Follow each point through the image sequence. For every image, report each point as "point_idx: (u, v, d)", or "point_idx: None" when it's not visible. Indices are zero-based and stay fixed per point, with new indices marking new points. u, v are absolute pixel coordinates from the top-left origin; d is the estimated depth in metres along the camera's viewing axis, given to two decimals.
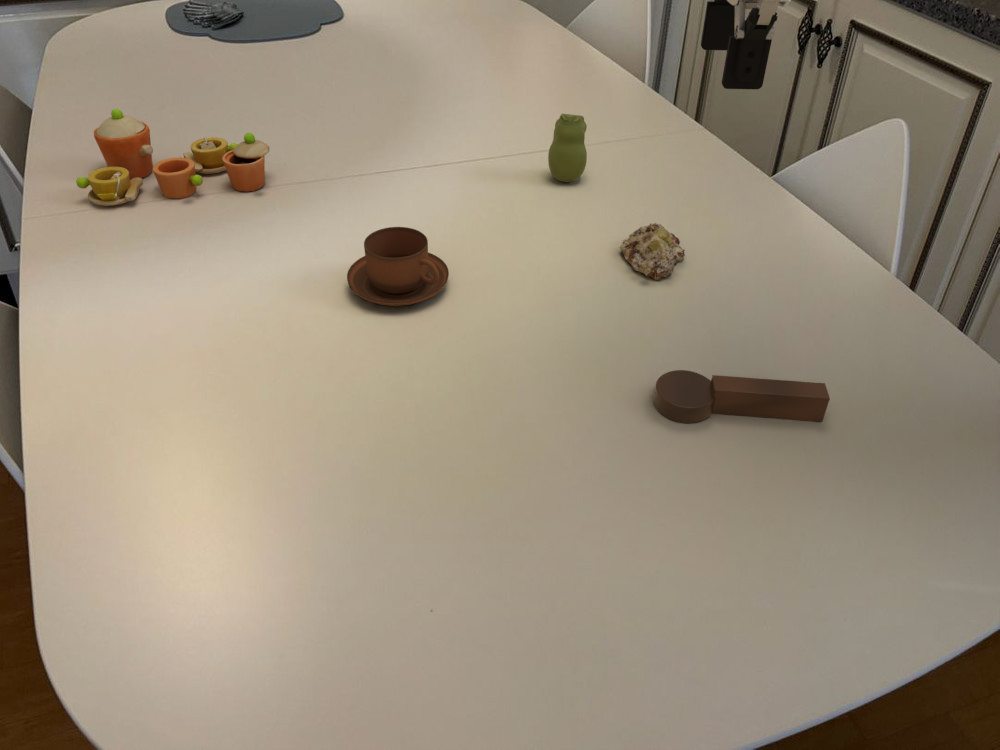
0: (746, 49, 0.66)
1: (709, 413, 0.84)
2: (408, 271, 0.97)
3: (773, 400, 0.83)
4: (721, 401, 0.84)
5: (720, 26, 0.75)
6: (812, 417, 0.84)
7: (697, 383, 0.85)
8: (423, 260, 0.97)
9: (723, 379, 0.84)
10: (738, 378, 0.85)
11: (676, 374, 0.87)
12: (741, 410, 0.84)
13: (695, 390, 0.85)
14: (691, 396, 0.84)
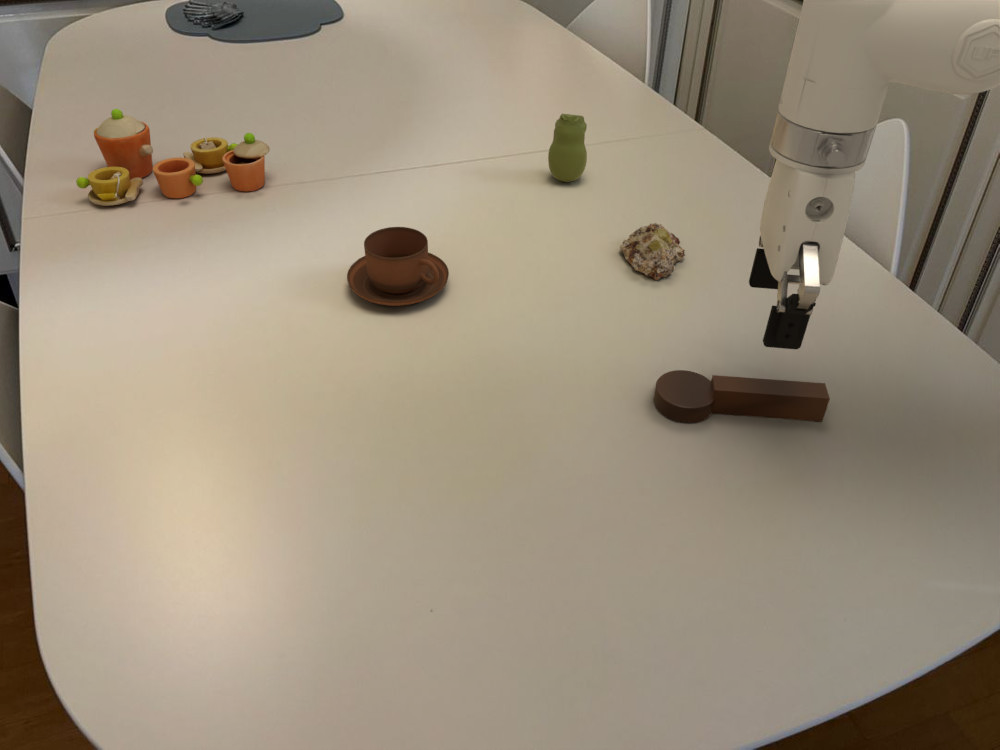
0: (786, 320, 0.72)
1: (709, 413, 0.84)
2: (408, 271, 0.97)
3: (773, 400, 0.83)
4: (721, 401, 0.84)
5: (767, 270, 0.81)
6: (812, 417, 0.84)
7: (697, 383, 0.85)
8: (423, 260, 0.97)
9: (723, 379, 0.84)
10: (738, 378, 0.85)
11: (676, 374, 0.87)
12: (741, 410, 0.84)
13: (695, 390, 0.85)
14: (691, 396, 0.84)
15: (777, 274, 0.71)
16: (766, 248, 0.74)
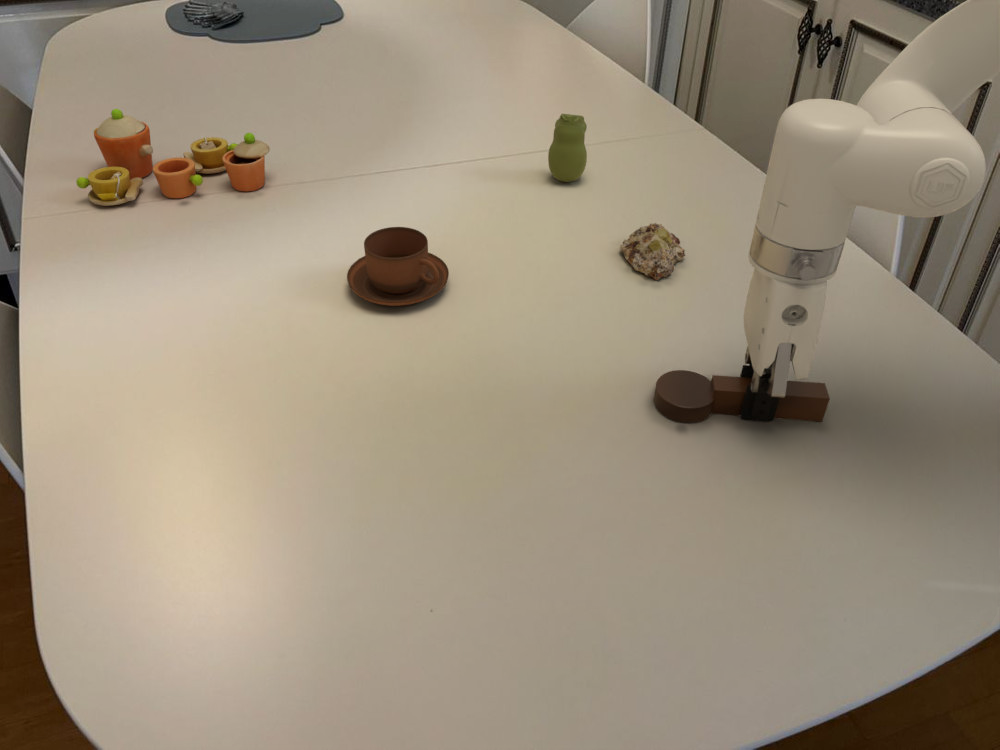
0: (759, 399, 0.81)
1: (709, 413, 0.84)
2: (408, 271, 0.97)
3: None
4: (721, 401, 0.84)
5: None
6: (812, 417, 0.84)
7: (697, 383, 0.85)
8: (423, 260, 0.97)
9: (723, 379, 0.84)
10: (738, 378, 0.85)
11: (676, 374, 0.87)
12: None
13: (695, 390, 0.85)
14: (691, 396, 0.84)
15: (758, 370, 0.77)
16: (748, 342, 0.80)
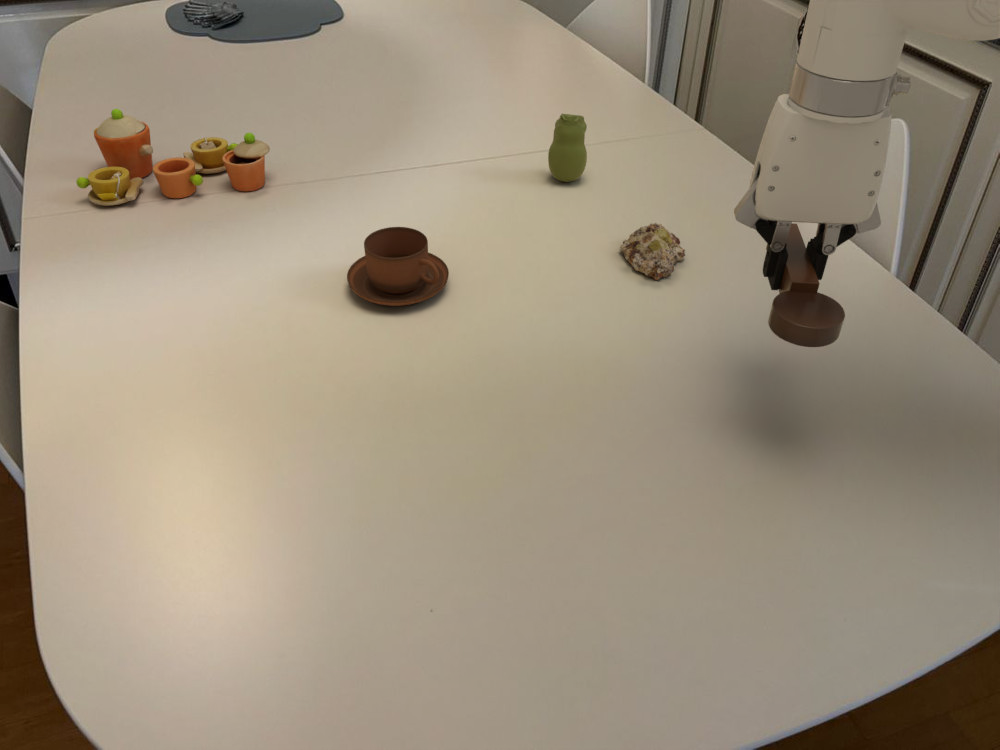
0: None
1: None
2: (408, 271, 0.97)
3: None
4: None
5: None
6: None
7: (795, 300, 0.74)
8: (423, 260, 0.97)
9: (796, 276, 0.75)
10: (789, 267, 0.77)
11: (784, 312, 0.73)
12: None
13: (808, 302, 0.74)
14: (821, 306, 0.73)
15: (869, 215, 0.73)
16: (819, 214, 0.73)
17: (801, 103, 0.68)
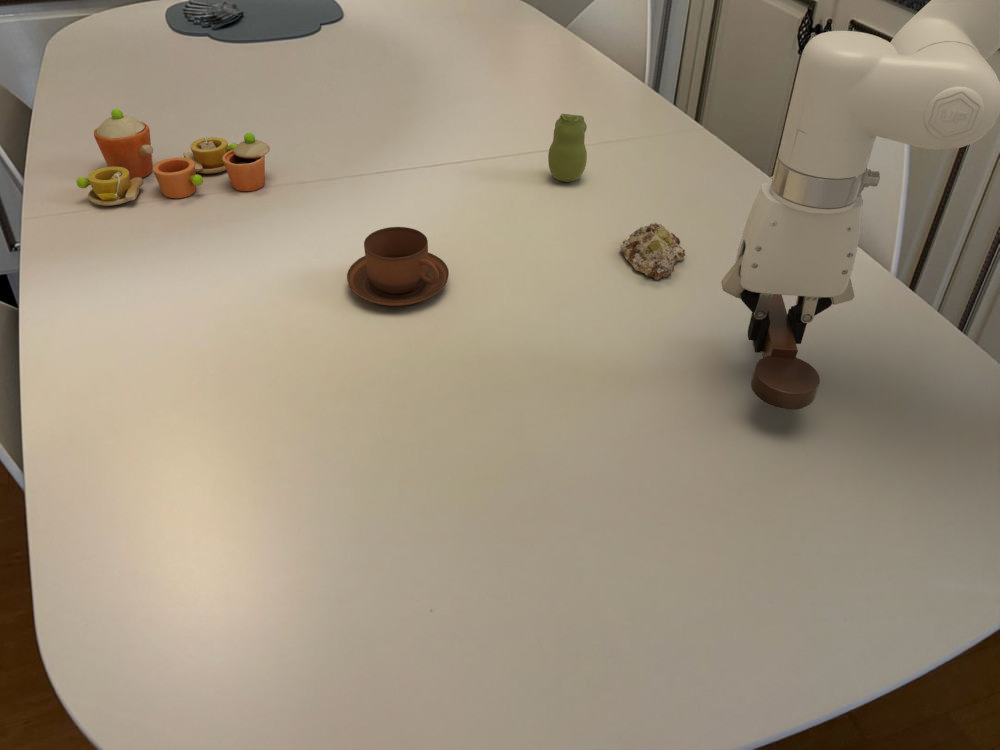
0: None
1: None
2: (408, 271, 0.97)
3: None
4: None
5: None
6: None
7: (775, 365, 0.82)
8: (423, 260, 0.97)
9: (777, 342, 0.83)
10: (771, 333, 0.84)
11: (765, 377, 0.80)
12: None
13: (787, 367, 0.82)
14: (799, 371, 0.81)
15: (843, 290, 0.81)
16: (798, 288, 0.81)
17: (781, 194, 0.75)
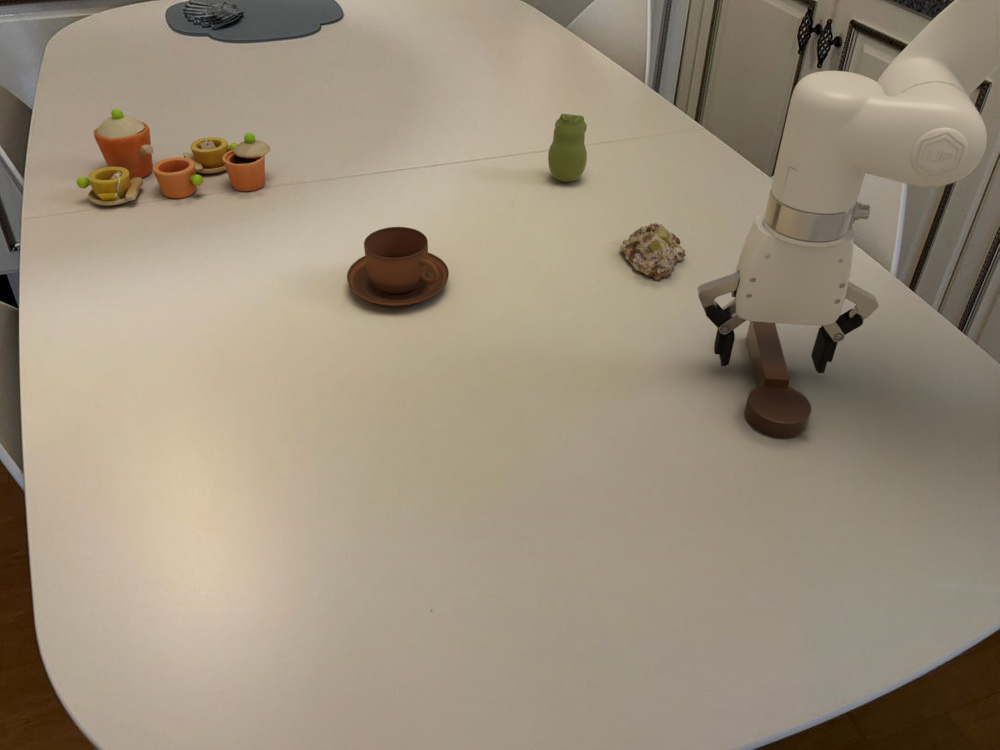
0: (836, 342, 0.86)
1: None
2: (408, 271, 0.97)
3: None
4: None
5: None
6: None
7: (768, 394, 0.84)
8: (423, 260, 0.97)
9: (770, 372, 0.85)
10: (764, 363, 0.87)
11: (758, 406, 0.83)
12: None
13: (779, 397, 0.84)
14: (791, 401, 0.83)
15: (836, 318, 0.83)
16: (792, 317, 0.83)
17: (774, 227, 0.78)
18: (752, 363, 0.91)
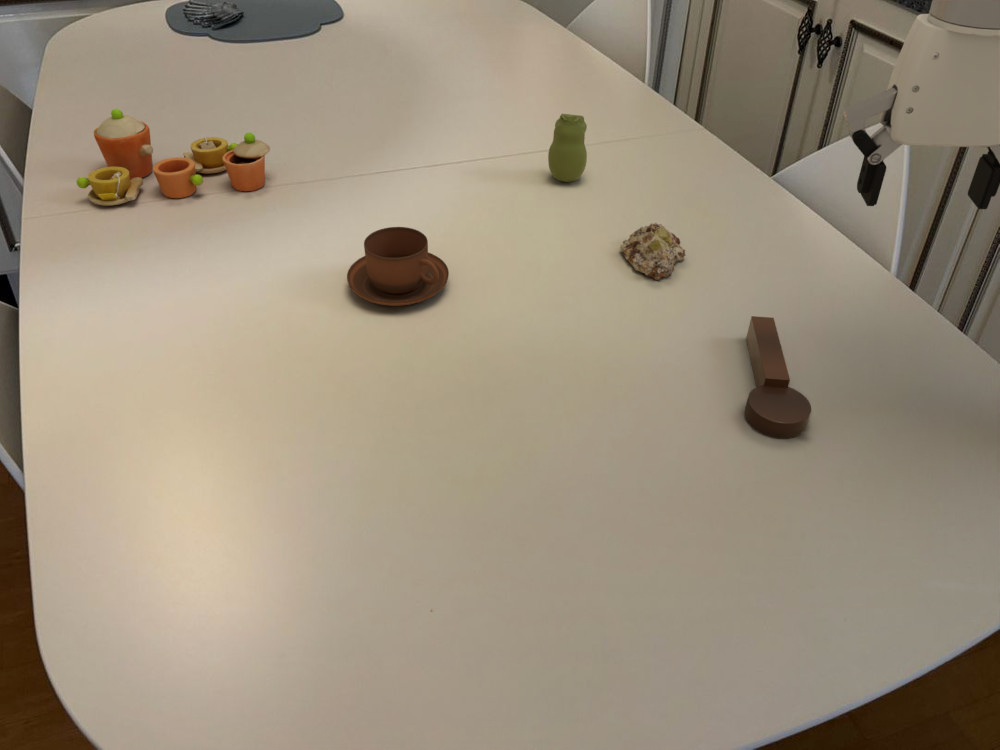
0: None
1: None
2: (408, 271, 0.97)
3: None
4: None
5: None
6: None
7: (768, 394, 0.84)
8: (423, 260, 0.97)
9: (770, 372, 0.85)
10: (764, 363, 0.87)
11: (758, 406, 0.83)
12: None
13: (779, 397, 0.84)
14: (791, 401, 0.83)
15: None
16: (957, 136, 0.72)
17: (946, 18, 0.67)
18: (752, 363, 0.91)
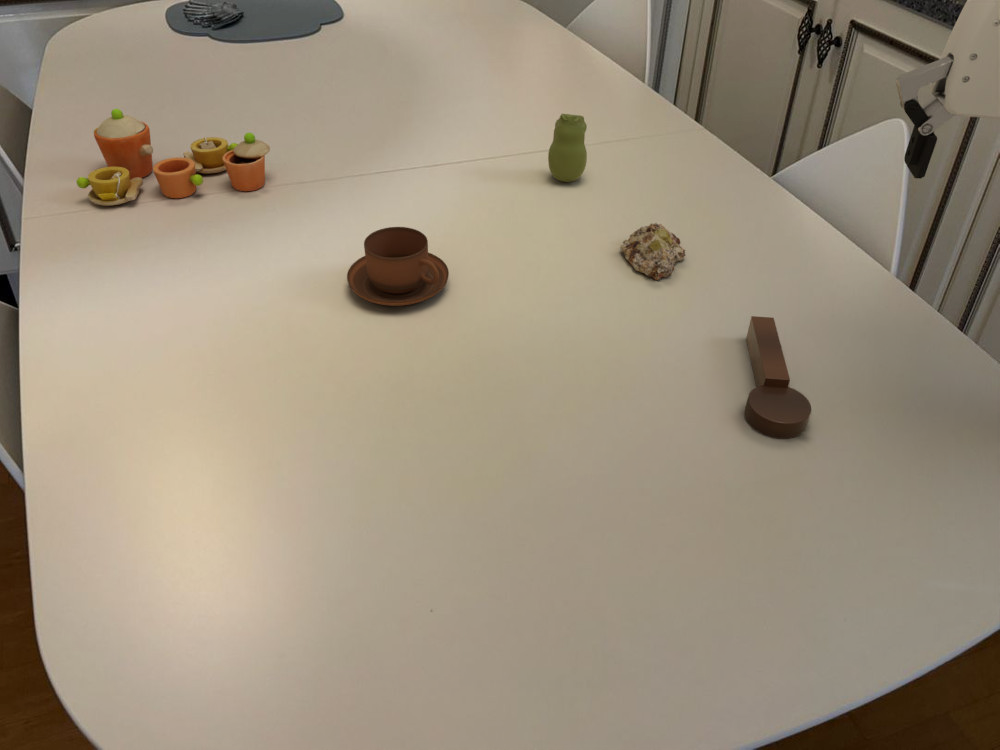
0: None
1: None
2: (408, 271, 0.97)
3: None
4: None
5: None
6: None
7: (768, 394, 0.84)
8: (423, 260, 0.97)
9: (770, 372, 0.85)
10: (764, 363, 0.87)
11: (758, 406, 0.83)
12: None
13: (779, 397, 0.84)
14: (791, 401, 0.83)
15: None
16: None
17: None
18: (752, 363, 0.91)
